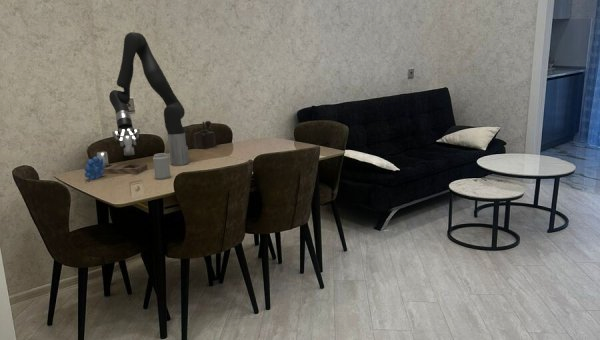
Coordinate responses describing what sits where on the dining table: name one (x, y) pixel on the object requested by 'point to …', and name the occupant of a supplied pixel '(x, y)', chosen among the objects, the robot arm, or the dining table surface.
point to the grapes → (94, 168)
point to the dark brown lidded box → (204, 138)
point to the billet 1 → (104, 157)
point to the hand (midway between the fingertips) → (128, 147)
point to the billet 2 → (128, 144)
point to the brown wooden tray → (125, 169)
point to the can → (161, 166)
